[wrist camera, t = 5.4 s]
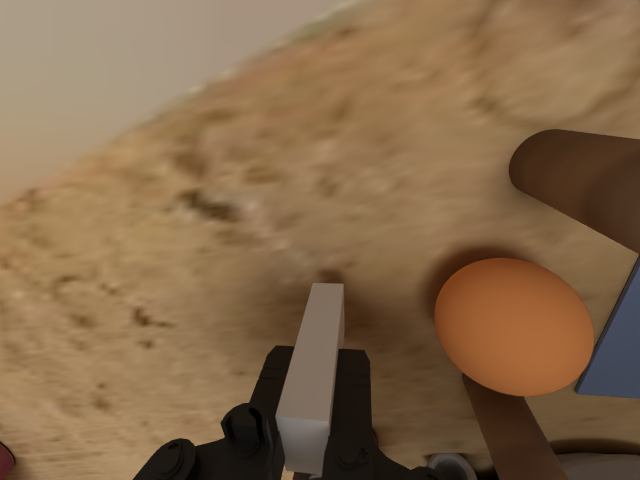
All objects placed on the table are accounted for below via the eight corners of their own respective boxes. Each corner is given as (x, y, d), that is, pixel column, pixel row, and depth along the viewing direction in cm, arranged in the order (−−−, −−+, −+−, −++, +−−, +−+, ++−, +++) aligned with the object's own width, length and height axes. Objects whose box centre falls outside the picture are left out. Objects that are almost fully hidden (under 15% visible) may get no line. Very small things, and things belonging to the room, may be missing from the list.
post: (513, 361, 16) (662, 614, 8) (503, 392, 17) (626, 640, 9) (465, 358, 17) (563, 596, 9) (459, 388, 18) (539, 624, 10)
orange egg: (463, 313, 9) (427, 238, 14) (446, 423, 11) (420, 325, 16) (672, 316, 8) (553, 234, 13) (606, 434, 10) (527, 327, 15)
